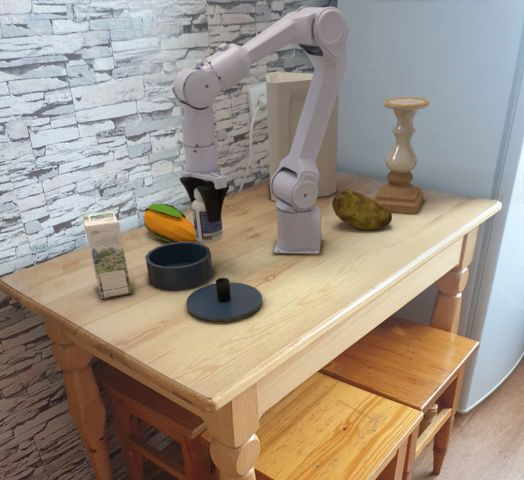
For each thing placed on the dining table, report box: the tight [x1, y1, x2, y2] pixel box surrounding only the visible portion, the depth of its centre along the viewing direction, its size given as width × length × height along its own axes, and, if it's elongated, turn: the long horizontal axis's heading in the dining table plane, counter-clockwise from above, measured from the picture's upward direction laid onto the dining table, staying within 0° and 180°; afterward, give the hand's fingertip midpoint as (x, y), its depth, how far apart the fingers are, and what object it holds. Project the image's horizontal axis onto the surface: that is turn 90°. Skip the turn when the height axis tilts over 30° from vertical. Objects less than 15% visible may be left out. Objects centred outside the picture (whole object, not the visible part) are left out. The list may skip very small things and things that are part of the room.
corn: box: [143, 202, 198, 243], centre depth 124 cm, size 7×8×20 cm
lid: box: [185, 277, 263, 322], centre depth 99 cm, size 13×13×5 cm
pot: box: [144, 241, 214, 291], centre depth 110 cm, size 12×12×5 cm
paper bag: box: [265, 71, 340, 202], centre depth 143 cm, size 19×15×28 cm
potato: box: [331, 189, 393, 231], centre depth 126 cm, size 8×13×8 cm, turn 58°
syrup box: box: [82, 210, 133, 300], centre depth 103 cm, size 6×6×14 cm
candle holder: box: [372, 96, 431, 215], centre depth 133 cm, size 11×11×24 cm
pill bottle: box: [191, 188, 224, 244], centre depth 108 cm, size 5×5×10 cm
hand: (207, 217), depth 108 cm, fingers closed on pill bottle, 5 cm apart
